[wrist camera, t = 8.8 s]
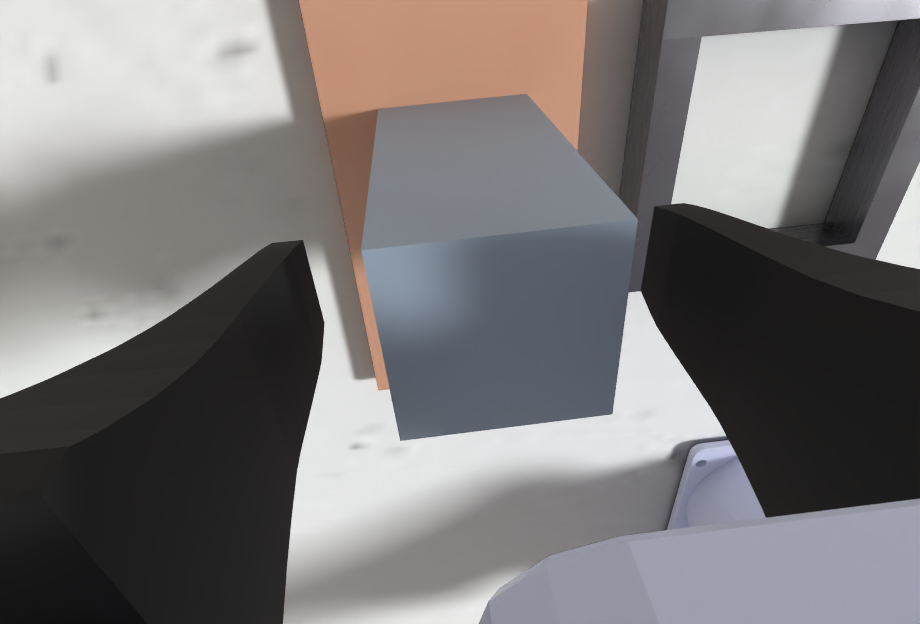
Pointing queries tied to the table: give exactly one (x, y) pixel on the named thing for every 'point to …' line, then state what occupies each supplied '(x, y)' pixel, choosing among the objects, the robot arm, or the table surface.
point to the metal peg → (493, 268)
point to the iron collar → (766, 9)
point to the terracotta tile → (432, 80)
